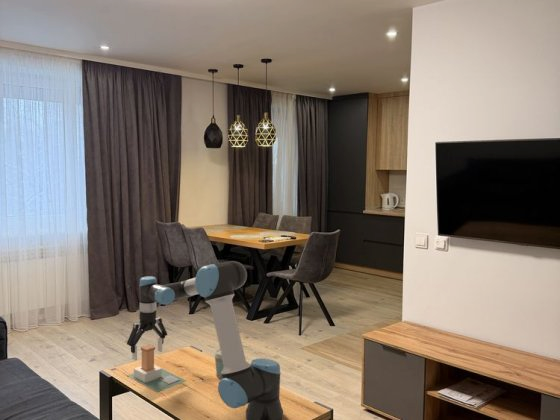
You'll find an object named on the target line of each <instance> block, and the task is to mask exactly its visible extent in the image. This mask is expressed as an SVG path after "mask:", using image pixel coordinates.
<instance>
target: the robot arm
mask: <svg viewBox="0 0 560 420" xmlns="http://www.w3.org/2000/svg"><path fill="white" fill-rule="evenodd" d="M247 278H248V272H247V269H246V268H245V266H244V265H243V263H240V262H239V261H236V260H229V261H224V262H218V263H217V262H216V263H211V264H207V265H204V266H202V267H200V268H199V270H198V271H197V273H196V275H195V277H193V278H189V279H186V280H182V281H178V282H174V283H173V282H172V283H167V284H158V281H157V278H156V277H155V276H151V275H150V276H149V275H148V276H143V277H141V278H140V279H139V286H138V287H139V292H138V293H139V323H138V322H137V323H136V322H134V323H133V325H132V329H131V332H130V334H129V337H128V339H127V342H126V345H128V346H129V347H130V353H131V359H132V360H134V361H137V360H138V345H137V344H138V342H139V341H140V339H141V337H142V336H143V334H145V333H146V332H149V331H152V330H153V331H154V332H155V333H156V335H157V336H158V337H157V351H158V352H159V353H163V344H164V339H165V338H166V337H167V336H168V332H167V330H166V328H165V326H164V324H163V319H162V318H161V317H159V316H158V317H157V303H158V304H161V305H166V306H167V305H170V304H172V303H173V302H174V301H176V300H179V299H185V298H190V297H194V296H195V295H200V297H203V298H204V302H205V303H206V304H208V305H209V306H210V310H211V315H212V320H213V323H214V328H215V332H216V333H215V334H216V336H217V337H216V338H217V342H218V346H219V350H220V351H221V356H222V360H223V365H224V368H223V370H222V372H221V374H222V379H220V381H219V382H218V386H217V392H218V394H219V397H220V399H221V401H222V402H223V403H224V404H225V405H226V406H227V407H229V408H230V409H231V408H232V409H239V408H241V407H245V406H246V405H247V404H248V405H247V407H246V409H245V419H246V420H282V418H283V419H284V410H283V407H282V404H281V399H280V393H281V392H280V390H281V366H280V364H279V363H278V362H277V361H276V360H273V359H270V358H263V357H262V358H260V357H259V358H255V359H252V360H251V362H248V361H246V355H245V351H244V347H243V343H242V338H241V334H240V331H239V325H238V321H237V316H236V313H235V308H234V303H233V298H234V296H235V291H236V290H238V289H240V288H241V287H243V286H244V285H245V283H246V281H247ZM156 323H157V325H158V327H159V328H158V327H157V326H156Z"/></svg>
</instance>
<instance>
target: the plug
mask: <svg viewBox="0 0 560 420" xmlns="http://www.w3.org/2000/svg"><path fill="white" fill-rule="evenodd" d="M155 350H156V347H155V346H153V345H151V344H147V345H144V346H141V347H140V351H141V366H142V370H144V371H146V372H147V371H150V370H153V369H154V365H155Z"/></svg>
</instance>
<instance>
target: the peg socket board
mask: <svg viewBox="0 0 560 420" xmlns="http://www.w3.org/2000/svg"><path fill="white" fill-rule="evenodd" d="M126 376H127V377H128V378H131V379H132V380H133V381H136V382H137V383H140V384H141V385H143V386H145V387H147V388H148V389H150V390H153V391H154V392H156V393H159V392H161V391H164V390H167V389H170V388H172V387H174V386H177V385H179V384H182V383H185V382H186V381H187V380H186V379H184V378H182V377H180V376H178V375H176V374H174V373H171V372H170V371H167V370H166V369H165V368H162V367H160V366H157V365H156V364H154V369H153V370H150V371H147V372H146V371H144V370H142V365H139V366H137V367H135V368H133V373H131V374H128V375H126Z"/></svg>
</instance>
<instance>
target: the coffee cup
mask: <svg viewBox="0 0 560 420" xmlns="http://www.w3.org/2000/svg"><path fill="white" fill-rule="evenodd" d="M214 360H215V361H214V362H215V370H216V378H218V379H220V380H221V379H222V374H221V372H222V370H223V368H224V365H223V360H222V356H221V351H220V349H218V350H216V351H215V353H214Z"/></svg>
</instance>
